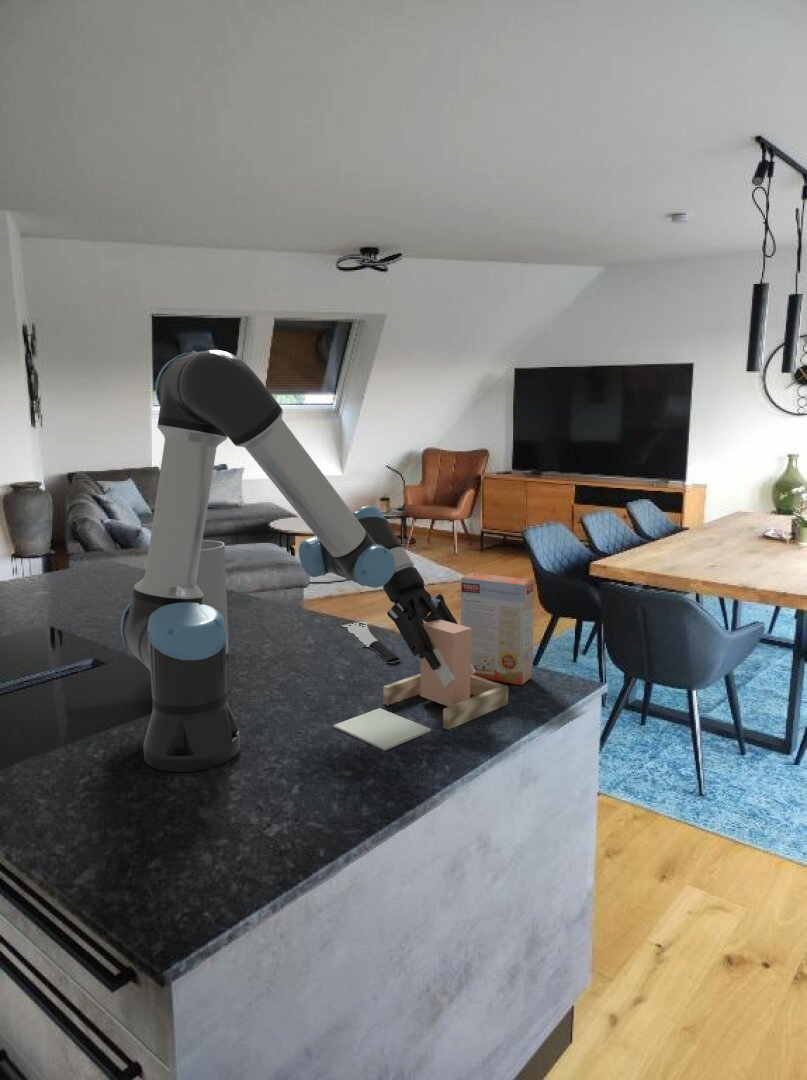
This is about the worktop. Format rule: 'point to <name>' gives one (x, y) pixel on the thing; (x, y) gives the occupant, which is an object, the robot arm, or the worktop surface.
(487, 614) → the cracker box
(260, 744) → the worktop surface
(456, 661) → the peach block
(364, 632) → the kitchen cleaver
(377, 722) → the sage mat
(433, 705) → the worktop surface
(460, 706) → the birch bay
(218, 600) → the cylinder vase
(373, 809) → the worktop surface
